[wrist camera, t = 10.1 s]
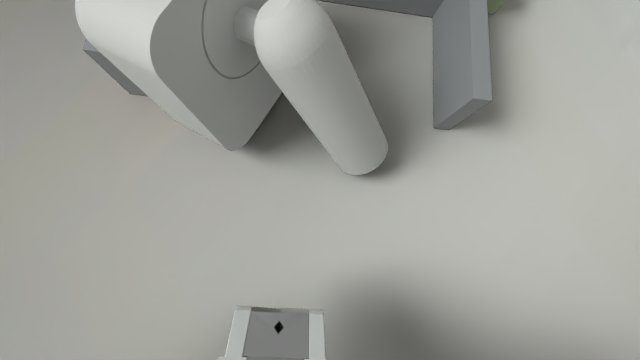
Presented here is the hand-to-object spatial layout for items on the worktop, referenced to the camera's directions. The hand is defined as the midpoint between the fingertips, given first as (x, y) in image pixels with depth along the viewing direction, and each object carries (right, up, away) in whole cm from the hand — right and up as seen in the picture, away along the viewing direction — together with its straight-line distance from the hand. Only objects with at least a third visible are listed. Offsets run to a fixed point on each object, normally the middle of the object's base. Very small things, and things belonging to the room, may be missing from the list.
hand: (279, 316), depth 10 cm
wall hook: (0, +9, +7) cm, 11 cm away
